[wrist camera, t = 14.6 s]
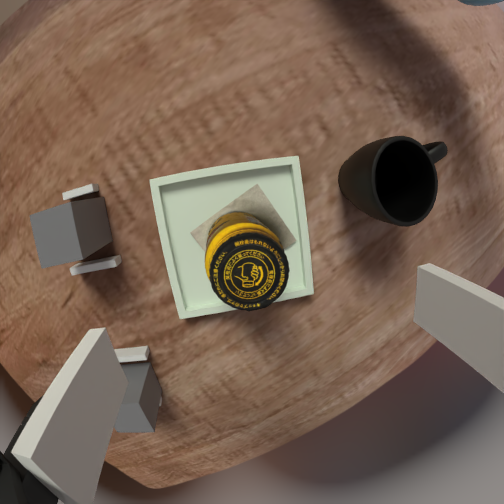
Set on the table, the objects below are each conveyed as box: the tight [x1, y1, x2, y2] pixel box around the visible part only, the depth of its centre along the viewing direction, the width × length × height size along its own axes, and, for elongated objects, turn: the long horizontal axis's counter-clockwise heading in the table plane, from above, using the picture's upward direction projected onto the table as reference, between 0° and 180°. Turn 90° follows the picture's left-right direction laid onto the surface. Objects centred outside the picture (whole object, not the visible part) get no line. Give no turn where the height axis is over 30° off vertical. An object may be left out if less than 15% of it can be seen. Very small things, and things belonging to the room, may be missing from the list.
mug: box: [338, 136, 448, 226], centre depth 26 cm, size 8×12×10 cm
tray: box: [150, 156, 314, 319], centre depth 29 cm, size 15×15×2 cm
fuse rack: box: [30, 184, 162, 432], centre depth 26 cm, size 29×6×8 cm, turn 9°
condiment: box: [190, 184, 297, 311], centre depth 24 cm, size 7×8×12 cm
